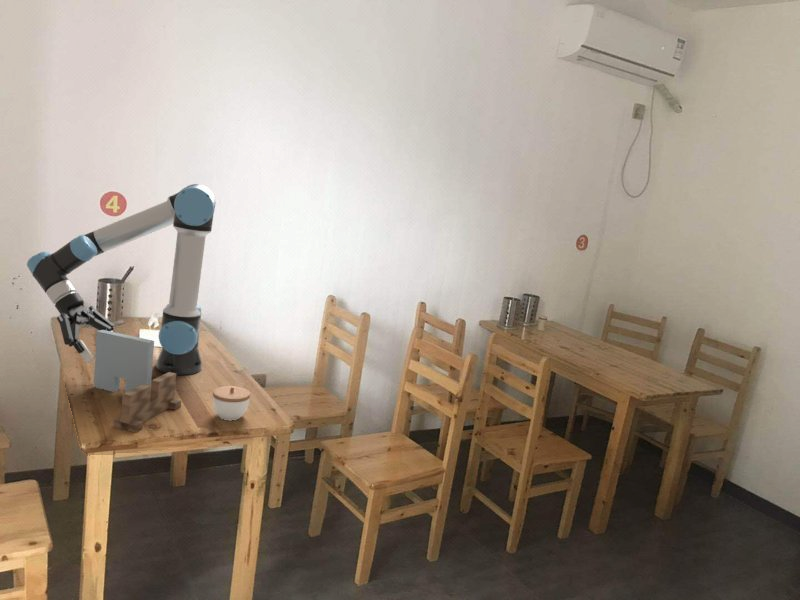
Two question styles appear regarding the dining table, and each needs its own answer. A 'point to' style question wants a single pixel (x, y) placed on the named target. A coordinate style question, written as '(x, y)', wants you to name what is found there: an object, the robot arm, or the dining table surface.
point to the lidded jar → (230, 402)
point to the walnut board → (147, 402)
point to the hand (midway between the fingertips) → (106, 355)
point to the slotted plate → (122, 361)
